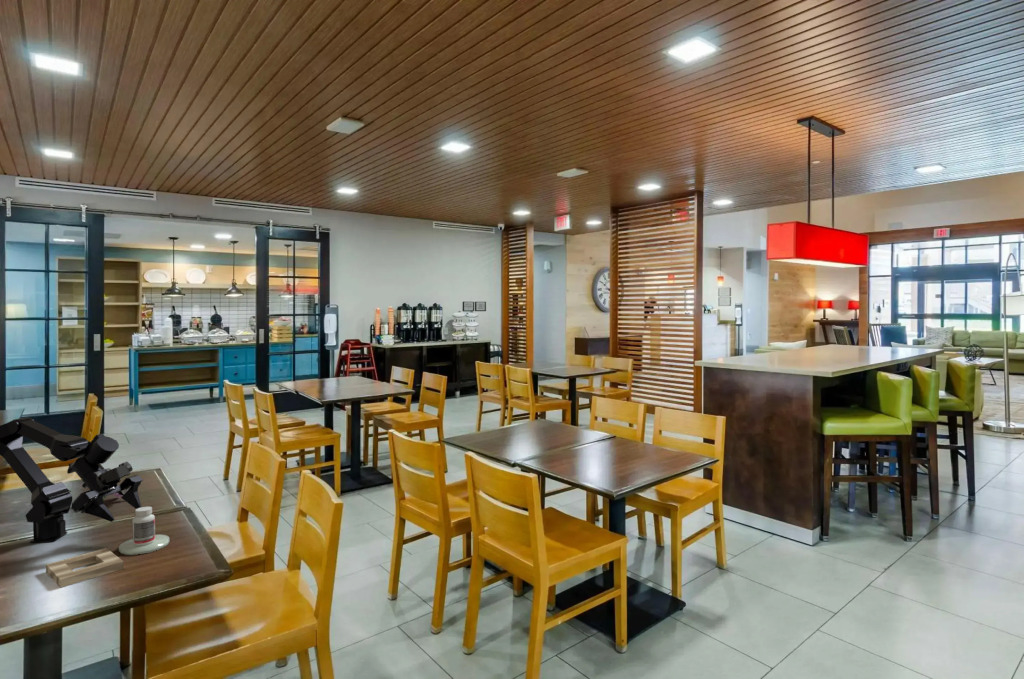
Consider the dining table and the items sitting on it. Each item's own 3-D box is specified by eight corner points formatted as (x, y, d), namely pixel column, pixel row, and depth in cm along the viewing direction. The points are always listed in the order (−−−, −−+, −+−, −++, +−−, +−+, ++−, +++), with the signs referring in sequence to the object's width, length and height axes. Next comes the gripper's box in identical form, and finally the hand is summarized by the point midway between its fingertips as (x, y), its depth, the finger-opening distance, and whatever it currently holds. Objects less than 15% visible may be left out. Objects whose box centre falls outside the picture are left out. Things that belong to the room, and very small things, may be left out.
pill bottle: (159, 541, 159) (158, 507, 158) (139, 547, 154) (138, 513, 154) (148, 537, 161) (148, 504, 161) (128, 544, 157) (128, 510, 156)
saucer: (110, 556, 151) (109, 553, 151) (131, 539, 162) (131, 535, 162) (158, 553, 153) (158, 549, 153) (176, 536, 165) (176, 533, 165)
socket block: (46, 572, 141) (45, 564, 141) (106, 555, 151) (106, 548, 151) (60, 587, 133) (60, 579, 133) (123, 568, 143) (123, 561, 143)
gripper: (79, 464, 149) (116, 507, 148) (137, 448, 167) (169, 486, 166) (55, 490, 151) (90, 534, 149) (114, 472, 169) (146, 510, 168)
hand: (127, 514), depth 158 cm, fingers open, 9 cm apart
